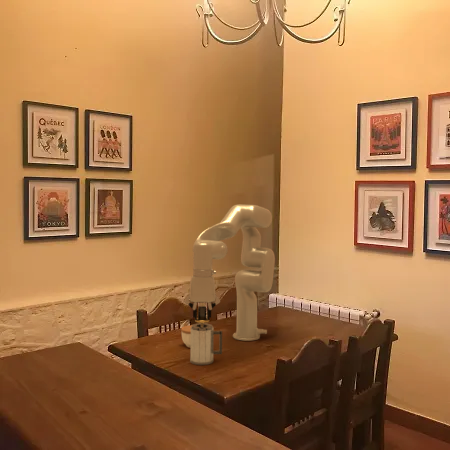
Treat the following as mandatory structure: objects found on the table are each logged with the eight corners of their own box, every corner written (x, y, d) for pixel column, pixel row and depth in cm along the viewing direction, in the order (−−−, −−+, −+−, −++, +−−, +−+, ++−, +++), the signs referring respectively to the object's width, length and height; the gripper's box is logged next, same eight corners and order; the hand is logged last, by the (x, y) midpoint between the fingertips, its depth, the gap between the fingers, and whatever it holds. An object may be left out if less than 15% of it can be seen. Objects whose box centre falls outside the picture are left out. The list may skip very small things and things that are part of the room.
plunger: (209, 354, 202) (210, 305, 201) (210, 360, 196) (210, 308, 195) (193, 355, 202) (194, 305, 201) (193, 360, 196) (194, 308, 194)
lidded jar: (202, 350, 213) (202, 328, 213) (178, 348, 216) (178, 326, 215) (208, 343, 224) (208, 322, 223) (184, 341, 226) (185, 320, 226)
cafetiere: (220, 357, 204) (221, 322, 204) (222, 364, 195) (223, 328, 194) (190, 357, 203) (190, 323, 203) (190, 365, 194) (190, 329, 193)
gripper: (223, 272, 201) (222, 317, 202) (181, 272, 200) (180, 317, 201) (224, 275, 194) (224, 321, 195) (181, 274, 193) (180, 321, 194)
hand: (202, 318), depth 198 cm, fingers closed on plunger, 4 cm apart
